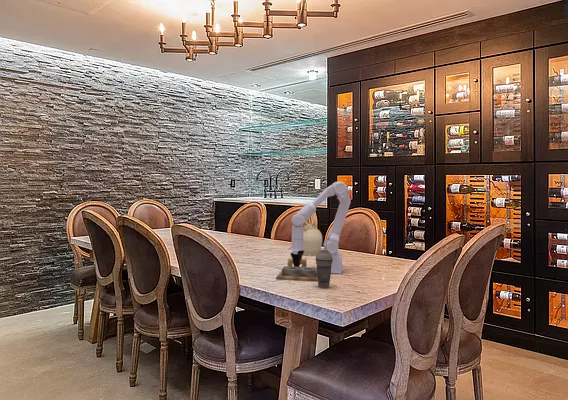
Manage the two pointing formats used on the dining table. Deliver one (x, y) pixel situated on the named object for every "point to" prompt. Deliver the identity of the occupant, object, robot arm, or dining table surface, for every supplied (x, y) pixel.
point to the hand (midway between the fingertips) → (297, 266)
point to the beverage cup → (324, 267)
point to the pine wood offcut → (302, 261)
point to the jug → (311, 238)
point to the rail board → (298, 273)
